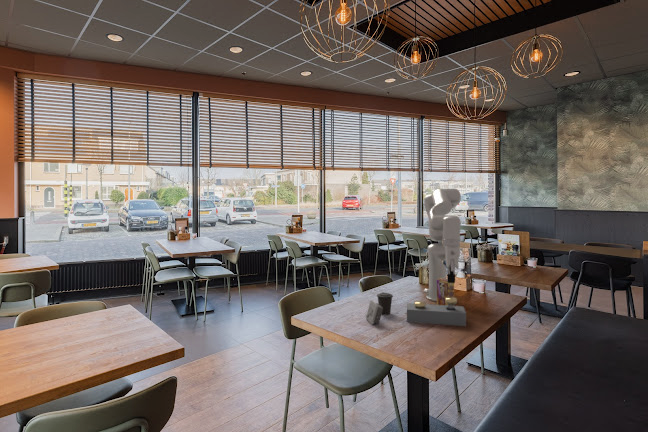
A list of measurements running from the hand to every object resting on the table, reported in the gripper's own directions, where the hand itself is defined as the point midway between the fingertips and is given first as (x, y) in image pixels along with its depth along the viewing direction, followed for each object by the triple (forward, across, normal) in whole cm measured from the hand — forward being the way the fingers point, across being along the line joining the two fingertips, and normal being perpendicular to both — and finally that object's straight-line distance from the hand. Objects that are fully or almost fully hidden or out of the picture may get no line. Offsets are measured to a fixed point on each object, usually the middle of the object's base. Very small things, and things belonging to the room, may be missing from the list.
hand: (451, 282), depth 166 cm
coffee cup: (+19, +7, +31) cm, 37 cm away
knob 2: (+14, +1, 0) cm, 14 cm away
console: (+19, +1, +7) cm, 20 cm away
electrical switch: (+19, -6, +35) cm, 40 cm away
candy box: (+18, +20, +1) cm, 27 cm away
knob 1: (+17, +1, +14) cm, 22 cm away
